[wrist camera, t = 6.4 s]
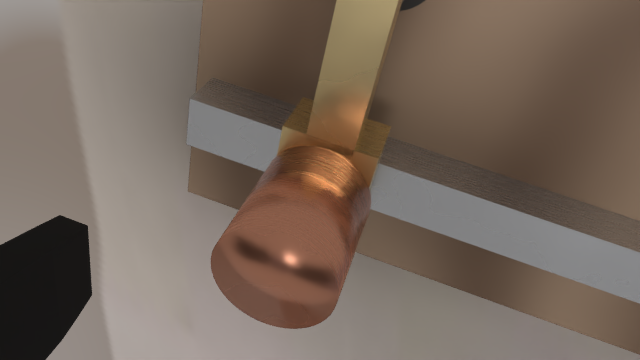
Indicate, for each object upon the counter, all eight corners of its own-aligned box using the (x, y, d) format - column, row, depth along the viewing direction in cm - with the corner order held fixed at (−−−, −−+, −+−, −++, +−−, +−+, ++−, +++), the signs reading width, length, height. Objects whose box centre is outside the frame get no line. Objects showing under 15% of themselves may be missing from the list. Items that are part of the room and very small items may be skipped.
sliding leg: (456, -39, 13) (417, 66, 8) (377, 192, 18) (320, 350, 13) (343, -73, 14) (242, 9, 9) (292, 162, 18) (205, 306, 13)
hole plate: (1273, 17, 11) (1362, 46, 10) (807, 382, 19) (826, 422, 18) (249, -255, 14) (222, -259, 13) (206, 168, 22) (187, 192, 20)
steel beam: (939, 321, 15) (973, 367, 14) (890, 356, 16) (919, 401, 15) (212, 77, 18) (189, 98, 16) (208, 120, 18) (186, 144, 17)
